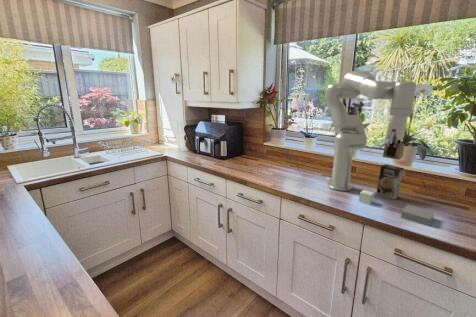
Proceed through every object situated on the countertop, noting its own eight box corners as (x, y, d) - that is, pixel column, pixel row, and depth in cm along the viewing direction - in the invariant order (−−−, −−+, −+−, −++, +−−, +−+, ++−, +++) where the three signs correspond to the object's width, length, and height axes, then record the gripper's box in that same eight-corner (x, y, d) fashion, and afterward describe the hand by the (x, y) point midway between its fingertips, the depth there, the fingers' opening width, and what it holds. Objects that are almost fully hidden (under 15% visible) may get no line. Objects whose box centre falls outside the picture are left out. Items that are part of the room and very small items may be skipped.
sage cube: (358, 201, 127) (360, 192, 126) (362, 198, 131) (363, 189, 130) (369, 204, 124) (370, 195, 123) (372, 201, 127) (374, 192, 126)
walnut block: (382, 156, 110) (385, 143, 108) (386, 154, 114) (389, 141, 112) (398, 159, 105) (401, 145, 104) (402, 157, 110) (404, 143, 108)
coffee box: (375, 194, 137) (380, 165, 133) (380, 191, 141) (385, 163, 137) (394, 199, 130) (399, 169, 126) (398, 196, 134) (404, 167, 130)
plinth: (400, 217, 111) (402, 211, 110) (406, 210, 118) (407, 204, 117) (428, 225, 104) (430, 219, 103) (433, 218, 111) (434, 211, 110)
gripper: (395, 111, 113) (389, 150, 118) (383, 112, 101) (376, 156, 106) (415, 112, 108) (407, 153, 113) (405, 114, 96) (397, 159, 101)
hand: (392, 154), depth 109 cm, fingers closed on walnut block, 6 cm apart
